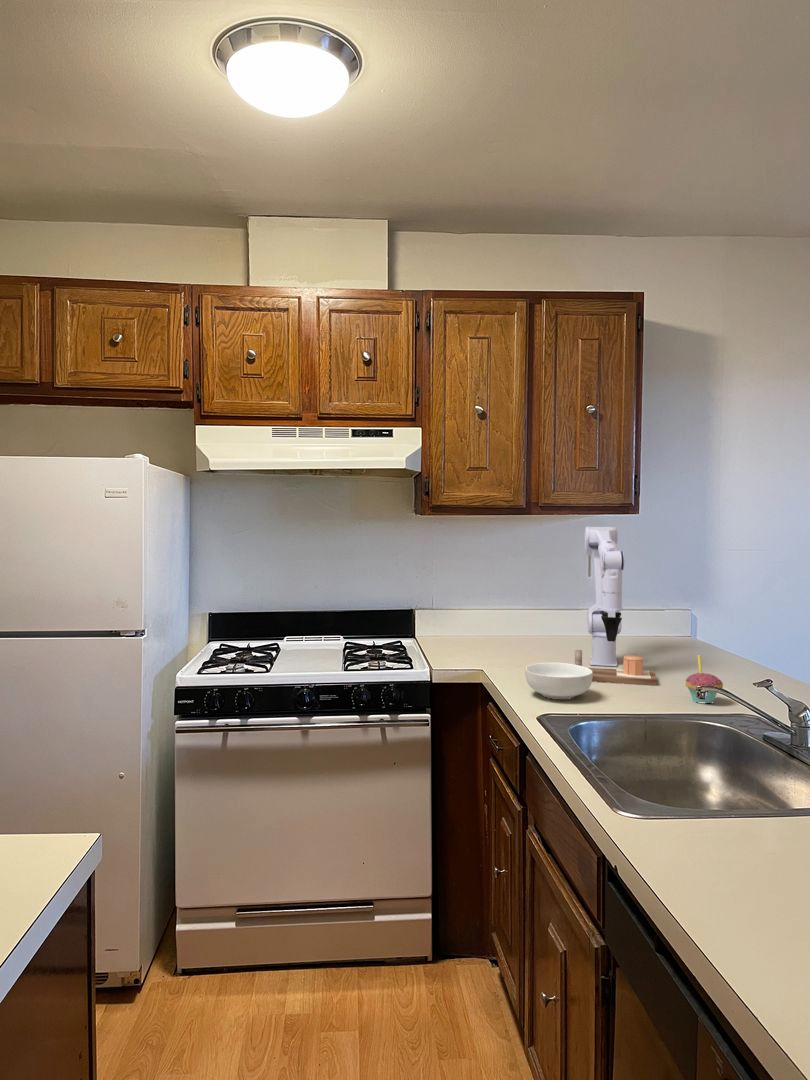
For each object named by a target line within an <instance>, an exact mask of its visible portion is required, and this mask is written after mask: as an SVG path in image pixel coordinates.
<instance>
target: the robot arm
mask: <svg viewBox="0 0 810 1080" xmlns="http://www.w3.org/2000/svg"><path fill="white" fill-rule="evenodd" d="M618 536H619V535H618V528H617V527H616V526H613V525H612V526H588V525H587V526H586V527H585V529H584V550H585V555H587V556H589V557H590V558H591V561H592V565H593V581H594V595H595V596H594V599H595V604H593V605H592V606H590V607H589V608H588V610H587V614H586V615H587V617H586V620H587V621H586V629H587V630H586V631H587V632H588V633H589V635H590V634H591V657H590V660H589V661H590V662H589V663H590V664H589V665H590V666H604V667H617V666H618V659H616V657H617V656H616V655H617V648H616V647H617V637H618V635H619V634H620V633H621V631H622V620H623V617H621V616H622V611H623V599H622V598H623V571H624V569H625V561H626V560H625V554H624V550H620V549H619V547H618V538H619V537H618Z"/></svg>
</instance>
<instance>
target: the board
mask: <svg viewBox="0 0 810 1080" xmlns="http://www.w3.org/2000/svg"><path fill="white" fill-rule="evenodd" d="M574 665H579V666H583V650H581V649H575V650H574ZM588 668H589V669H590V670H592V672H593V677H592V681H597V682H596V683H606V682H610V683H609V684H622V683H624V685H640V686H642V685H643V686H656V687H657V686H658V678H657V676H656V672H655V670H654V671H653V670H652V671H651V670H643V675H636V676H635V675H627V674H624V673H623V669H621V668H615V669H614V668H599V667H598V668H597V667H596V668H595V667H588Z"/></svg>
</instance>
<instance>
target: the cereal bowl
mask: <svg viewBox="0 0 810 1080" xmlns="http://www.w3.org/2000/svg"><path fill="white" fill-rule="evenodd" d="M589 668H590V667H586V666H583V665H582V666H579V665H575V663H574V664H573V663H565V662H553V661H551V662H537V663H532V664H528V665H527V666H526V667H525V672H524V673H525V678H526V682H527V685H528V686H529V688H531V689H532V690H533V691H535V692H536V693H538V694H541V695H542V696H543V697H544V698H546V697H547V699H550V698H552V699H551V700H556V699H567V700H570V699H569V698H572V699H574V698H575V697H578V696H581V695H582V694H584V693H586V692H587V691H588V690H589V689H590V687H591V686H592V683H593V682H592V677H593V672H592V670H590V669H589Z"/></svg>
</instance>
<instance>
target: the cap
mask: <svg viewBox="0 0 810 1080" xmlns="http://www.w3.org/2000/svg"><path fill="white" fill-rule="evenodd" d="M622 666H623V667H622V668H623V673H624V674H627V675H635V676H636V675H643V671H644V657H643V656H641V655H636V654H635V655H631V654H628V655H627V654H626V655H624V656H623V665H622Z"/></svg>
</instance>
